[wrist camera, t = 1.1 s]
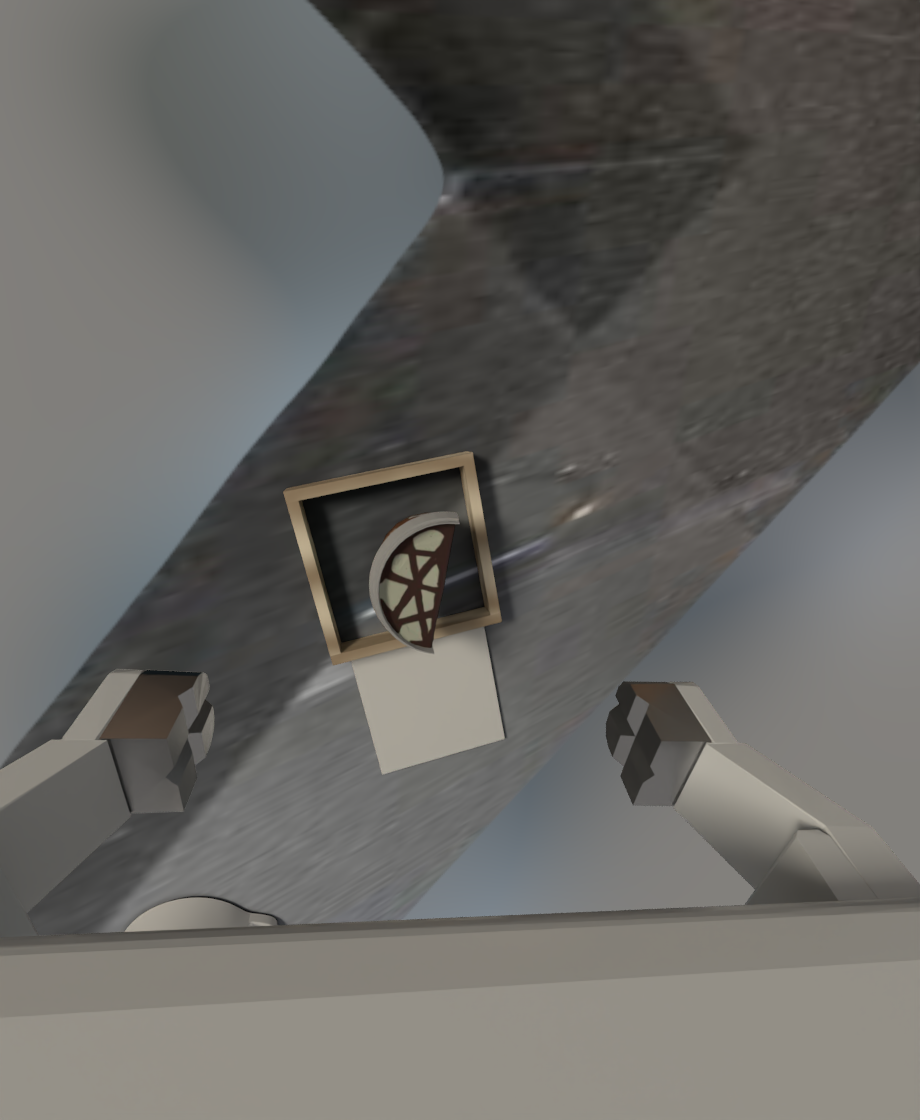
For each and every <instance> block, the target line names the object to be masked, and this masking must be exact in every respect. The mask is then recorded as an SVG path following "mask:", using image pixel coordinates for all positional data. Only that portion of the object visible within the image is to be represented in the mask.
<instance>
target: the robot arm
mask: <svg viewBox="0 0 920 1120" xmlns="http://www.w3.org/2000/svg"><path fill="white" fill-rule="evenodd" d="M209 689H210V687H209V682H208V677H207V674H205V673H203V672H186V671H164V670H128V669H116V670H114V671H113V672H111V673H110V674H108V676H107V677H106V678H105V680H104V681H103V683H102V684H101V685H100V687H99V688H98V689H97V691H96V692H95V694H94V695H93V696H92V698H91V699H90V701H89V702H88V703H87V705H86V706H85V707H84V709H83V710H82V712H81V713H80V714H79V716H78V717H77V719H76V720H75V721H74V723H73V724H72V726H71V727H70V728H69V730H68V731H67V732H66V734H65V735H64V737H63V738H62V739H61V740H50V741H49V742H47V743H45V744H44V745H42V746H40V747H39V748H37V749H35V750H33V751H32V752H30V753H28V754H27V755H25V756H23V757H22V758H20V759H18V760H16V761H15V762H13V763H11V764H10V765H8V766H6V767H5V768H3V769H1V770H0V1120H920V884H919V883H918V882H917V880H916V879H915V878H914V877H913V876H912V874H911V873H910V872H909V871H908V869H907V868H906V867H905V866H904V865H903V863H902V862H901V861H900V860H899V859H898V857H897V856H896V855H895V854H894V853H893V851H892V850H891V849H890V848H889V847H888V845H887V844H886V843H885V842H884V840H883V839H882V838H881V837H880V836H879V834H878V833H877V832H876V831H875V830H874V828H873V827H872V826H870V825H868V824H867V823H865V822H864V821H862V820H861V819H859V818H858V817H856V816H855V815H853V814H852V813H850V812H849V811H847V810H846V809H844V808H843V807H841V806H840V805H838V804H837V803H835V802H834V801H832V800H831V799H829V798H828V797H826V796H824V795H823V794H822V793H820V792H818V791H817V790H816V789H814V788H812V787H811V786H809V785H808V784H806V783H805V782H803V781H802V780H800V779H799V778H797V777H796V776H794V775H793V774H791V773H790V772H788V771H787V770H785V769H784V768H782V767H781V766H779V765H778V764H776V763H775V762H773V761H772V760H770V759H769V758H767V757H766V756H764V755H762V754H761V753H760V752H758V751H757V750H755V749H753V748H752V747H751V746H749V745H748V744H746V743H738V742H737V741H736V739H735V738H734V736H733V735H732V733H731V732H730V730H729V729H728V728H727V726H726V725H725V723H724V722H723V720H722V719H721V718H720V716H719V715H718V713H717V712H716V710H715V709H714V708H713V706H712V705H711V703H710V702H709V700H708V699H707V698H706V696H705V695H704V693H703V692H702V690H701V689H700V688H699V686H697V685H696V684H695V683H693V682H625V681H623V683H622V684H621V685H620V686H619V687H618V690H617V693H616V698H617V700H618V702H619V704H618V705H617V706H616V707H614V708H613V709H612V710H611V711H610V712H609V716H608V719H607V722H606V738H607V743H608V747H609V749H610V752H611V754H612V757H613V758H614V759H615V760H617V761H618V762H619V763H620V764H621V765H622V766H624V767H623V770H622V773H621V778H622V781H623V783H624V785H625V788H626V790H627V792H628V795H629V797H630V799H631V802H632V804H633V805H643V806H674V809H675V810H676V811H677V812H678V813H679V814H680V815H681V816H682V817H683V818H684V819H685V820H686V821H687V822H688V823H689V824H690V825H691V826H692V827H693V828H694V829H695V830H696V831H697V832H698V833H699V834H700V835H701V836H702V837H703V838H704V839H705V840H706V841H707V842H708V843H709V844H710V845H711V846H712V847H713V848H714V849H715V850H716V851H717V852H718V853H719V854H720V855H721V856H722V857H723V858H724V859H725V860H726V861H727V862H728V863H729V864H730V865H731V866H732V867H733V868H734V869H735V870H736V871H737V872H738V873H739V874H740V875H741V876H742V877H743V878H744V879H745V880H746V881H747V882H748V883H749V884H750V885H751V886H752V887H753V888H754V889H755V891H754V892H753V894H752V895H751V896H750V898H749V899H748V901H747V902H746V903H745V905H734V906H712V907H689V908H666V909H643V910H621V911H598V912H576V913H552V914H530V915H506V916H484V917H483V916H482V917H460V918H459V917H458V918H435V919H412V920H388V921H365V922H342V923H319V924H296V925H277V921H276V919H275V918H274V917H272V916H268V915H263V914H256V913H249V912H246V911H244V910H242V909H240V908H238V907H236V906H234V905H232V904H230V903H227V902H224V901H221V900H217V899H211V898H184V899H178V900H173V901H169V902H166V903H163V904H161V905H158V906H156V907H154V908H152V909H150V910H148V911H146V912H145V913H143V914H142V915H140V916H139V917H138V918H137V919H135V920H134V921H133V922H132V923H131V924H130V925H129V926H128V928H127V929H126V930H125V932H112V933H89V934H66V935H43V936H39V934H38V933H37V931H36V929H35V927H34V926H33V924H32V922H31V920H30V919H29V917H28V915H27V912H28V911H30V910H31V909H32V908H33V907H34V906H35V905H36V904H37V903H38V902H39V901H40V900H41V899H42V898H44V897H45V896H46V895H47V894H48V893H49V892H50V891H51V890H52V889H53V888H54V887H55V886H56V885H58V884H59V883H60V882H61V881H62V880H63V879H64V878H65V877H66V876H67V875H68V874H69V873H70V872H72V871H73V870H74V869H75V868H76V867H77V866H78V865H79V864H80V863H81V862H82V861H83V860H84V859H86V858H87V857H88V856H89V855H90V854H91V853H92V852H93V851H94V850H95V849H96V848H97V847H98V846H100V845H101V844H102V843H103V842H104V841H105V840H106V839H107V838H108V837H109V836H110V835H111V834H112V833H114V832H115V831H116V830H117V829H118V828H119V827H120V826H121V825H122V824H123V823H124V822H125V821H126V820H128V819H129V818H130V817H131V815H130V813H155V812H180V811H184V809H185V807H186V805H187V802H188V800H189V797H190V795H191V792H192V790H193V787H194V785H195V782H196V780H197V774H196V769H195V765H196V764H197V763H199V762H200V761H201V760H202V759H204V758H205V757H206V755H207V752H208V749H209V747H210V744H211V740H212V735H213V730H214V711H213V706H212V705H211V704H210V703H209V702H208V701H207V700H206V699H205V698H206V696H207V693H208V691H209Z"/></svg>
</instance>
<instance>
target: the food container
mask: <svg viewBox="0 0 920 1120" xmlns="http://www.w3.org/2000/svg"><path fill="white" fill-rule="evenodd" d="M455 524H460V523H459V518H458V515H457V513H456V512H446V511H445V512H433V513H422V514H417V515H413V516H409V517H408V518H406V519H404V520H402V521H400V522H399V523H397V524H396V525H395V526H394V527H393V528H392V529H391V530H390V531H389V532H388V533H387V534H386V536H385V538H384V540H383V543H382V545H381V547H380V548H379V550H378V552H377V554H376V556H375V558H374V561H373V563H372V567H371V571H370V579H369V590H370V598H371V602H372V605H373V608H374V610H375V612H376V615H377V617H378V618H379V620H380V621H381V623H382V624H383V626H384V627H385V628H386V629H387V630H388V631H389V632H390V633H391V634H392V635H393V636H394V637H395V638H396V639H397V640H399V641H400V642H401V643H403V644H404V645H406V646H408V647H410V648H412V649H414V650H417V651H420V652H424V653H429V654H434V650H433V646H432V644H433V640H434V632H435V627H436V622H437V617H438V612H439V608H440V603H441V599H442V594H443V590H444V584H445V578H446V572H447V567H448V561H449V556H450V550H451V545H452V540H453V535H454V529H455Z"/></svg>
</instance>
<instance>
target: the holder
mask: <svg viewBox="0 0 920 1120" xmlns="http://www.w3.org/2000/svg"><path fill="white" fill-rule="evenodd" d="M456 467H459V469H460V474H461V480H462V485H463V491H464V496H465V502H466V507H467V513H468V518H469V524H470V529H471V535H472V540H473V546H474V551H475V557H476V562H477V568H478V573H479V579H480V584H481V590H482V595H483V601H484V606H485V607H481V608H477V609H473V610H469V611H465V612H461V613H457V614H454V615H450V616H446V617H442V618H438V619H437V622H436V627H435V632H434V639H437V638H441V637H445V636H449V635H453V634H457V633H461V632H464V631H468V630H472V629H476V628H480V627H484V626H488V625H491V624H495V623H499V622H502V620H501V614H500V608H499V602H498V597H497V591H496V585H495V579H494V573H493V568H492V562H491V556H490V550H489V545H488V539H487V533H486V527H485V521H484V516H483V510H482V504H481V498H480V492H479V487H478V481H477V475H476V469H475V464H474V458H473V453H472V452H468V451H465V452H460V453H455V454H451V455H446V456H441V457H436V458H431V459H426V460H422V461H417V462H412V463H407V464H402V465H397V466H393V467H388V468H383V469H378V470H373V471H368V472H364V473H359V474H354V475H349V476H344V477H339V478H335V479H330V480H325V481H320V482H315V483H310V484H306V485H301V486H296V487H291V488H287V489H286V490H285V491H284V492H283V493H284V496H285V500H286V503H287V507H288V510H289V514H290V517H291V520H292V524H293V527H294V531H295V534H296V538H297V541H298V545H299V548H300V552H301V555H302V559H303V562H304V566H305V569H306V573H307V576H308V580H309V583H310V587H311V590H312V594H313V597H314V601H315V604H316V608H317V611H318V615H319V618H320V622H321V625H322V629H323V632H324V636H325V639H326V642H327V646H328V649H329V653H330V656H331V660H332V663H333V665H337V664H341V663H344V662H348V661H352V660H356V659H360V658H364V657H368V656H372V655H375V654H379V653H383V652H387V651H391V650H395V649H399V648H403V647H406V645H404V644H403V643H401V642H400V641H399V640H397V639H396V638H395V637H394V636H393V635H392V634H391V633H390V632H389V631H386V632H382V633H378V634H374V635H370V636H366V637H363V638H359V639H355V640H351V641H347V642H343V643H341V640H340V636H339V633H338V629H337V625H336V622H335V618H334V615H333V611H332V607H331V604H330V600H329V597H328V593H327V589H326V586H325V582H324V579H323V575H322V571H321V568H320V564H319V561H318V557H317V553H316V550H315V546H314V542H313V539H312V535H311V532H310V528H309V524H308V521H307V517H306V514H305V510H304V506H303V503H302V500H305V499H309V498H314V497H319V496H323V495H328V494H333V493H338V492H342V491H347V490H352V489H357V488H361V487H366V486H371V485H376V484H380V483H385V482H390V481H395V480H399V479H404V478H409V477H414V476H418V475H423V474H428V473H432V472H437V471H442V470H447V469H451V468H456Z"/></svg>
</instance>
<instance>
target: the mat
mask: <svg viewBox="0 0 920 1120" xmlns="http://www.w3.org/2000/svg"><path fill="white" fill-rule="evenodd" d="M432 646H433V650H434V654H429V653H424V652H420V651H417V650H414V649H412V648H410V647H408V646H406V647H403V648H399V649H395V650H391V651H387V652H383V653H379V654H375V655H372V656H368V657H364V658H360V659H356V660H352V661H351V662H352V666H353V670H354V673H355V677H356V680H357V684H358V688H359V691H360V695H361V699H362V702H363V706H364V710H365V713H366V717H367V721H368V724H369V728H370V731H371V735H372V739H373V742H374V746H375V750H376V753H377V757H378V761H379V764H380V768H381V772H382V775H383V774H386V773H389V772H393V771H396V770H400V769H403V768H406V767H410V766H413V765H417V764H420V763H424V762H427V761H430V760H434V759H437V758H441V757H444V756H447V755H451V754H454V753H458V752H461V751H465V750H468V749H471V748H475V747H478V746H482V745H485V744H489V743H492V742H495V741H499V740H502V739H505V737H504V732H503V726H502V721H501V715H500V710H499V704H498V699H497V694H496V688H495V683H494V677H493V672H492V666H491V661H490V656H489V650H488V645H487V639H486V634H485V629H484V627H480V628H476V629H472V630H468V631H464V632H461V633H457V634H453V635H449V636H445V637H441V638H437V639H434V640H433V644H432Z"/></svg>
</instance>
